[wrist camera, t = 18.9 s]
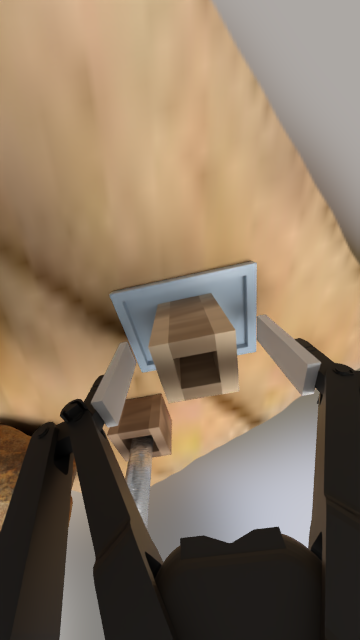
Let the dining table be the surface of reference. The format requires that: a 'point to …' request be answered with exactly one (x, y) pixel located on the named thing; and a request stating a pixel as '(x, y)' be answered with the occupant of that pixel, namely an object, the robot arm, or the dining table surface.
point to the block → (194, 349)
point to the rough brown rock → (14, 465)
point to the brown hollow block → (143, 425)
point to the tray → (224, 283)
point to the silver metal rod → (140, 473)
